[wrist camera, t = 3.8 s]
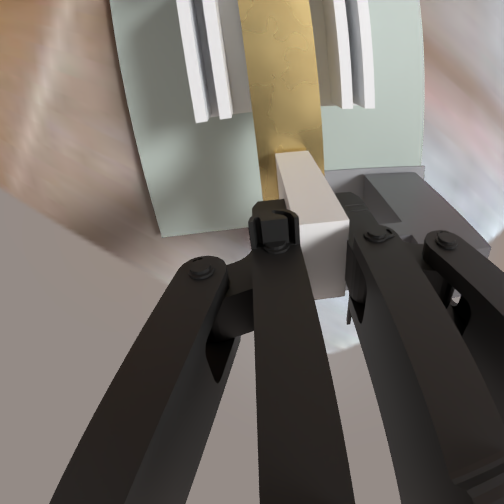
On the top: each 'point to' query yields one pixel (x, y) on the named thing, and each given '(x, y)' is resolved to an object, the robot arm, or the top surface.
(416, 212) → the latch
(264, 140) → the strap
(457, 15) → the top surface
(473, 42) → the top surface
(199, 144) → the board
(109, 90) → the top surface
